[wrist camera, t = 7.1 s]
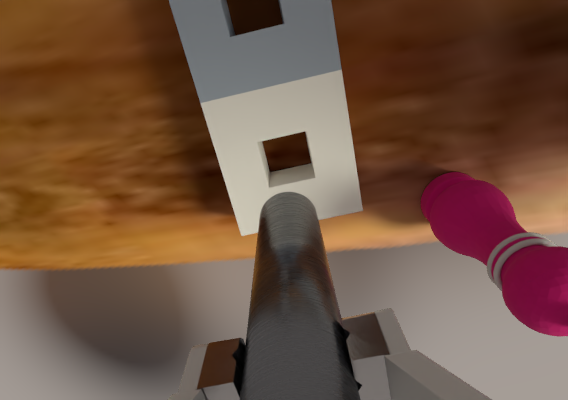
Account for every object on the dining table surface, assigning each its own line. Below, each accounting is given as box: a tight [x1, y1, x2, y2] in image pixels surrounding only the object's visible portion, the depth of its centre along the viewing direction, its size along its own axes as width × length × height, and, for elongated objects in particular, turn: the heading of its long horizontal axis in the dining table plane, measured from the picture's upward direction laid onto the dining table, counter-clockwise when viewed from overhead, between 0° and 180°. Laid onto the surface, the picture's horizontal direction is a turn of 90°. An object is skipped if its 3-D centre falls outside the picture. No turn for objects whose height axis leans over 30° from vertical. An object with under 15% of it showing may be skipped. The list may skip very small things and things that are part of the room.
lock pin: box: [240, 192, 361, 400], centre depth 12 cm, size 3×3×14 cm
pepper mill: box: [421, 172, 568, 336], centre depth 29 cm, size 7×7×20 cm
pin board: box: [169, 0, 363, 236], centre depth 31 cm, size 12×26×4 cm, turn 13°
